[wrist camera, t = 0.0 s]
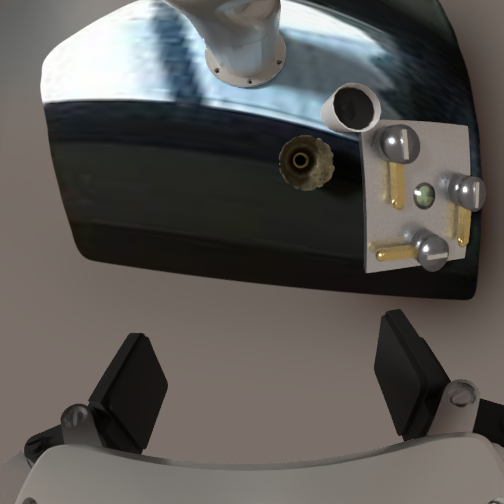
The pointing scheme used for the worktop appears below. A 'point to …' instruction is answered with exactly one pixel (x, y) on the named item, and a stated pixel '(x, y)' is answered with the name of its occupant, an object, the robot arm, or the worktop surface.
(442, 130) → the plate
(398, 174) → the knob
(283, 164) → the cup
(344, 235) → the worktop surface
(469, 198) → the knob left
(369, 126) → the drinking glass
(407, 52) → the worktop surface
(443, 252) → the knob
